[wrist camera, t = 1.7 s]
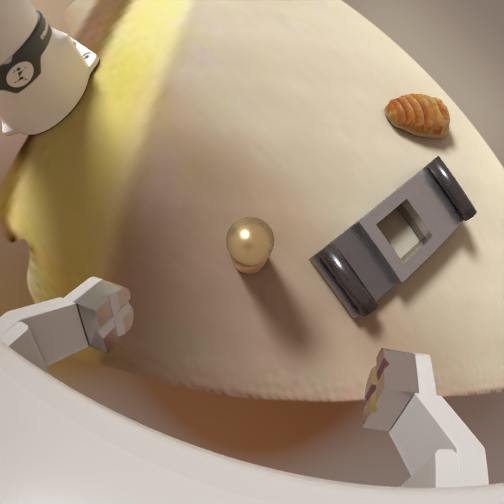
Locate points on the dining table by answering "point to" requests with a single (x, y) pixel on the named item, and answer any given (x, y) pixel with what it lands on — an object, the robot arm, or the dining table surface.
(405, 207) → the grey roller block
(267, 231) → the gold rounded cylinder
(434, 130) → the pastry
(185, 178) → the dining table surface
